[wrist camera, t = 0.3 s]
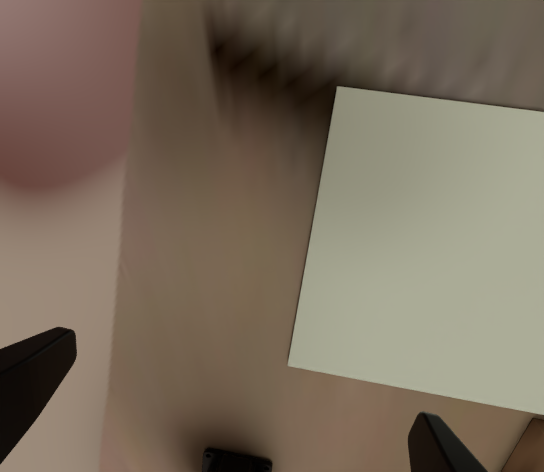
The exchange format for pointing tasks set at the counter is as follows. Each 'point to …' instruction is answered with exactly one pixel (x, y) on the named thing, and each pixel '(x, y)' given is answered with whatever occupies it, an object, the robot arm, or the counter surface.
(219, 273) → the counter surface
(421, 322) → the sage mat
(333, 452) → the counter surface
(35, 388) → the robot arm
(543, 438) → the walnut block
